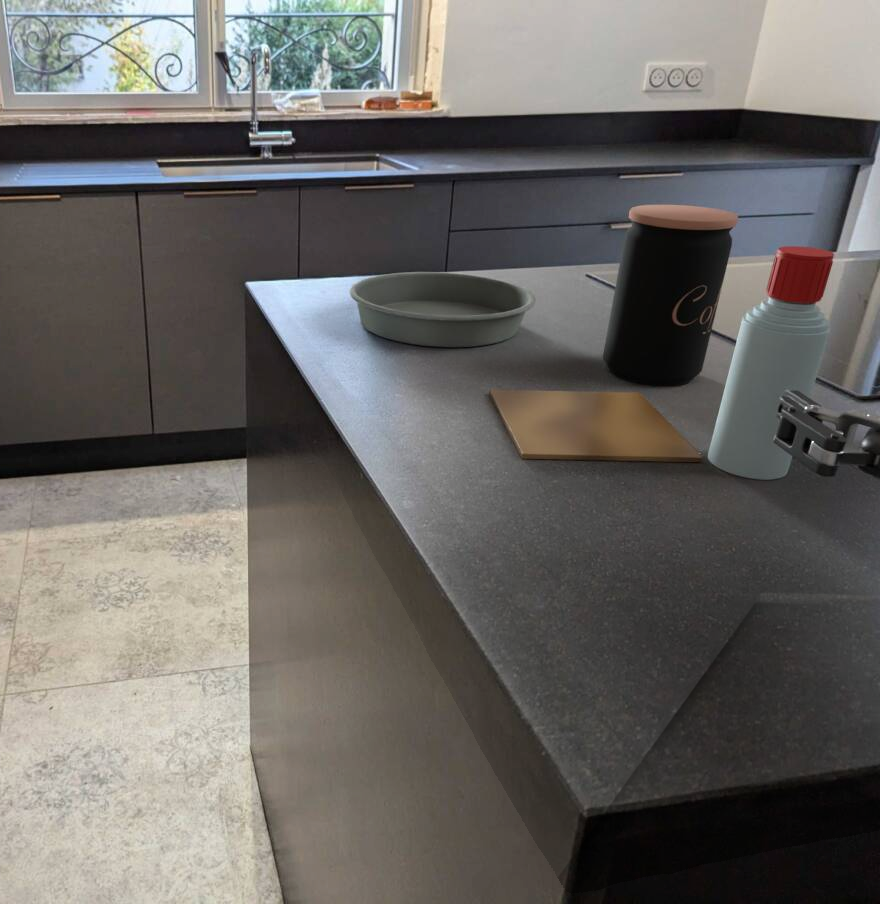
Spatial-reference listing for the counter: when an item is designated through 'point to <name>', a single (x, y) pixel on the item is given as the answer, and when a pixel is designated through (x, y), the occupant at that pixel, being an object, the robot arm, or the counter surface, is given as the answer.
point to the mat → (589, 426)
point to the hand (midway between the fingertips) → (846, 405)
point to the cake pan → (441, 308)
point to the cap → (799, 274)
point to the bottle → (766, 385)
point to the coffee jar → (667, 292)
